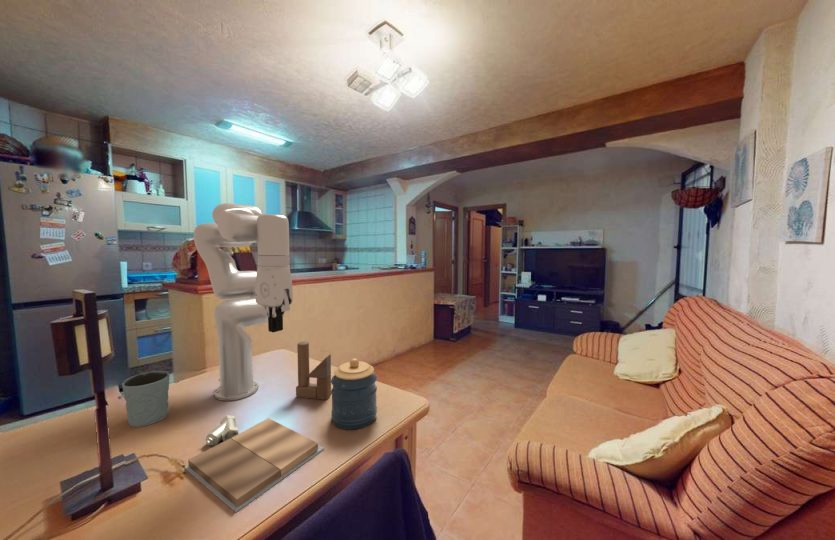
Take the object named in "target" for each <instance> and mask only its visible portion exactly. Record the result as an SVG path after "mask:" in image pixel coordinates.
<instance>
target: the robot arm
mask: <svg viewBox="0 0 835 540" xmlns="http://www.w3.org/2000/svg"><path fill="white" fill-rule="evenodd" d="M211 217H212V219H213V221H214V222H203V223H200V224H198V225H196V227H195V228H194V230H193V242H194V245H195V248H196V251H197V253H198V254H199V256H200V258H201V260H202V261H203V263H204V264H205V266H206V268H207V272H208V276H209V280H210V284H211V288H212V290H213V294H214V296H215V297H216V298H217V299H219V300H223V301H220V302H219V303H218V304H217V305H216V306H215V307H214V309H213V318H214V322H215V327H216V332H217V339H218V361H219V379H218V382H219V388H218V389H217V390H215V393H214V397H215V399H217V400H219V401H225V402H226V401H236V400H241V399H244V398H247V397H249V396H252V395H253V394H255V393H256V392H257V391H258V389H259V383H257V381H254V374H253V373H254V372H253V371H254V369H253V367H254V365H253V346H252V345H253V344H252V343H253V341H252V338H251V336H250V334H249V333H248V332H247V331H245V330H244V328H247V327H251V326H256V325H260V324H261V325H262V324H266V323H267V326H268V327H267V328H268V332H271V333H276V332H280V331H283V330H284V318H283V317H284V315H285V312H288V311H290V309H291V307H290V306H291V305H292V304H293V299H294V296H293V295H294V293H293V290H294V289H293V279H292V273H291V266H290V261H291V259H290V258H291V257H290V223H289V218H288V217H287V216H285V215H281V214H275V213H274V214H273V213H266V214H264V213H262V211H261V209H260V208H259V207H257V206H254V205H249V204H239V203H230V202H229V203H228V202H226V203H220V204H218V205H217V206H215V207H214V208H213V210H212V213H211ZM253 243H254V244H257V268H256V270H238V268H237V264H236V261H235V259H234V258H233V257H232V256H231V255H230V254H229V253H227V252H226V251H225V250H223V249H221V248H247V247H249V246H251V245H252V244H253Z"/></svg>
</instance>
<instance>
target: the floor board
mask: <svg viewBox="0 0 835 540" xmlns="http://www.w3.org/2000/svg"><path fill="white" fill-rule="evenodd" d="M187 462H188V463H187V466H189V467H190V468H191V469H192V470H193V471H194V472H196V473H197V474H198V475H199V476H200V477H202V478H203V479H204V480H205V481H206V482H208V483H209V484H210V485H211V486H212V487H214V488H215V489H216V490H217V491H218V492H220V493H221V494H222V495H223V496H224V497H226V498H227V499H228V500H229V501H230V502H232V503H233V504H234V505H235V506H236V507H238V506H240V505H241V504H243V503H244V502H246V501H247V500H248V499H250V498H251V497H253V496H254V495H255V494H257V493H258V492H260V491H261V490H263V489H264V488H265V487H267V486H268V485H270V484H271V483H272V482H274V481H275V480H277V479H278V478H280V470H279V469H278V468H276V467H275V466H273V465H272V464H270V463H268V462H267V461H265V460H264V459H262V458H261V457H259V456H257V455H256V454H254V453H253V452H251V451H250V450H248V449H246V448H245V447H243V446H242V445H240V444H239V443H237V442H235V441H234V440H232V439H231V438H230V439H228V440H226V441H224V442H223V441H222V442H219V443H218V444H217V445H215V446H212V447H210V448H209V449H207V450H205V451H202V452H200V453H199V454H197V455H195V456H192V457H190V458H189V459H188V461H187Z"/></svg>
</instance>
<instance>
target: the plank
mask: <svg viewBox="0 0 835 540" xmlns="http://www.w3.org/2000/svg"><path fill="white" fill-rule="evenodd" d="M231 439H232V440H234V441H235V442H237V443H239V444H240V445H242V446H243V447H245V448H246V449H248V450H250V451H251V452H253V453H254V454H256V455H257V456H259V457H261V458H262V459H264V460H265V461H267V462H268V463H270V464H272V465H273V466H275V467H276V468H278V469H279V470H280V476H282V475H284V474H285V473H286V472H288V471H289V470H290V469H292V468H293V467H295V466H296V465H297V464H299V463H300V462H301V461H303V460H304V459H306V458H307V457H308V456H310V455H311V454H312V453H314V452H315V451H317V450H318V445H319V443H318V442H317V441H315V440H313V439H311V438H308V437H307V436H305V435H304V434H301V433H299V432H298V431H295V430H293V429H291V428H289V427H287V426H285V425H283V424H281V423H279V422H277V421H275V420H274V419H272V418H268V417H267V418H266V419H265V420H262V421H261V422H259V423H257V424H255V425H253V426H251V427H249V428H247V429H245V430H244V431H241V432H239V433H238V435H236V436H234V437H232V438H231Z"/></svg>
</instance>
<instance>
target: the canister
mask: <svg viewBox="0 0 835 540" xmlns="http://www.w3.org/2000/svg"><path fill="white" fill-rule="evenodd" d="M333 374H334V375H333V376H331V386H332V388H331V415H330V416H331V419H332V423H333V424H334V425H335V426H336V428H337V427H338V428H340V429H344V430H357V429H358V430H359V429H362V428H366V427H367V426H369V425H371V424H372V423H373V422H375V420H376V417H377V412H378V407H377V390H378V387H377V385H376V381H377V379H378V376H377V374H376V373H375V368H374V366H372V365H371V364H369V363H368V362H365V361H359V359H358V358H354V357H353V358H350V361H348V362H344V363H342V364H340V365H339V366H338V367H336V368H335V370H334V371H333Z"/></svg>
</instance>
